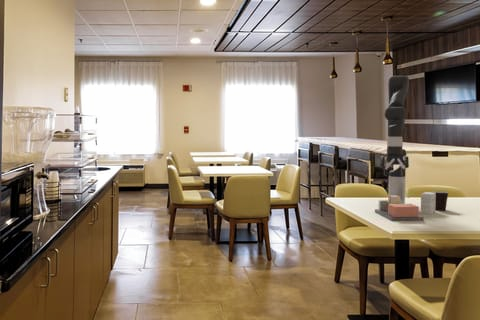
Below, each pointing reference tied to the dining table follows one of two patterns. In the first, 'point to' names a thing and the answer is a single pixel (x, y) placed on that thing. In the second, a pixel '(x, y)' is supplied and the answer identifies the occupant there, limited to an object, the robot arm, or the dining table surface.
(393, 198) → the maple block
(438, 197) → the coffee mug
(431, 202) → the small box
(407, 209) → the sliding jaw
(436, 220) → the dining table surface
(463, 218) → the dining table surface
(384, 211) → the vise
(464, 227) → the dining table surface
